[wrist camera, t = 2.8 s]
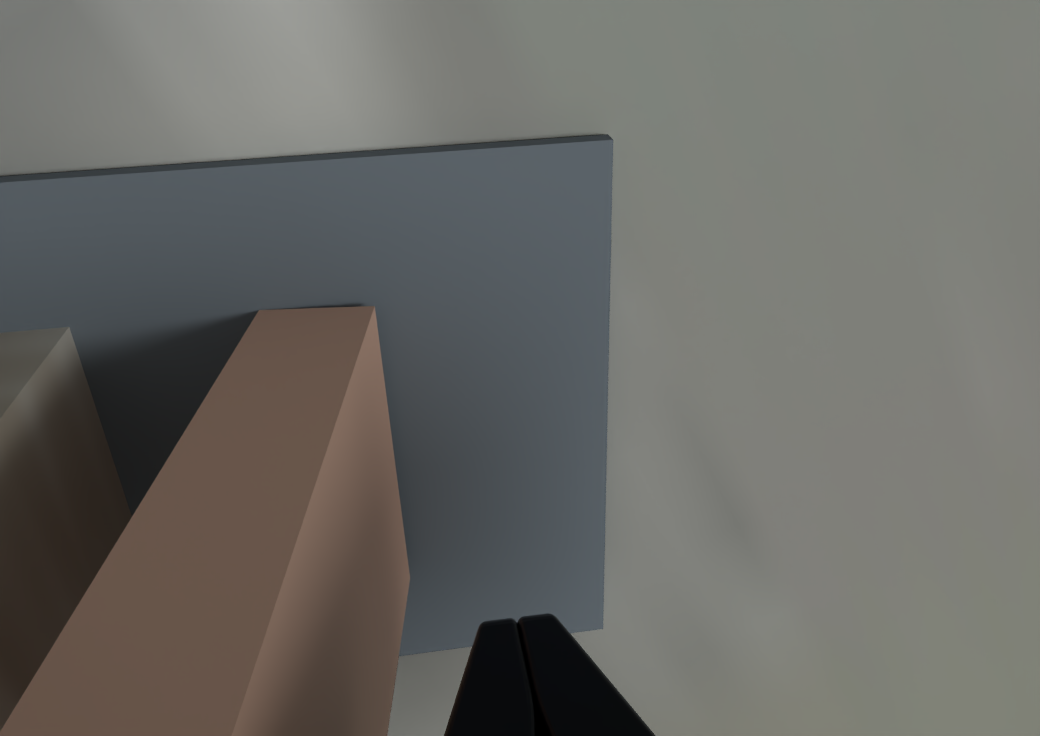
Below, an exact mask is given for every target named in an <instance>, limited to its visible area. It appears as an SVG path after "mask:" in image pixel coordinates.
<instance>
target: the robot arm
mask: <svg viewBox="0 0 1040 736" xmlns="http://www.w3.org/2000/svg"><path fill="white" fill-rule="evenodd" d="M444 736H655V735H654V733H653V732H652V731H651V730H650V729H649V727H648V726H647V725H646V724H645V723H644V721H643V720H642V719H641V718H640V717H639V715H638V714H637V713H636V712H635V711H634V709H633V708H632V707H631V706H630V705H629V703H628V702H627V701H626V700H625V699H624V697H623V696H622V695H621V694H620V693H619V691H618V690H617V689H616V688H615V687H614V685H613V684H612V683H611V682H610V681H609V679H608V678H607V677H606V676H605V675H604V674H603V672H602V671H601V670H600V669H599V668H598V666H597V665H596V664H595V663H594V662H593V660H592V659H591V658H590V657H589V656H588V654H587V653H586V652H585V651H584V650H583V648H582V647H581V646H580V645H579V644H578V642H577V641H576V640H575V639H574V638H573V636H572V635H571V634H570V633H569V632H568V630H567V629H566V628H565V627H564V626H563V624H562V623H561V622H560V621H559V620H558V619H557V618H556V616H554V615H552V614H550V613H546V614H538V615H530V616H523V617H521V618H520V619H519V620H518V622H516V621H515V619H513V618H506V619H498V620H490V621H484V622H482V623H481V624H480V626H479V627H478V630H477V633H476V636H475V640H474V643H473V646H472V649H471V652H470V655H469V658H468V662H467V665H466V668H465V671H464V674H463V677H462V681H461V684H460V687H459V690H458V693H457V696H456V699H455V703H454V706H453V709H452V712H451V715H450V718H449V722H448V725H447V728H446V731H445V734H444Z"/></svg>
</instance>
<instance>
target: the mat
mask: <svg viewBox="0 0 1040 736" xmlns="http://www.w3.org/2000/svg"><path fill="white" fill-rule="evenodd" d="M612 166H613V139H612V138H611V137H610V136H609V135H608V134H607V135H592V136H578V137H563V138H549V139H534V140H520V141H506V142H491V143H477V144H462V145H448V146H433V147H419V148H405V149H390V150H376V151H361V152H347V153H332V154H318V155H303V156H289V157H275V158H260V159H246V160H231V161H217V162H202V163H188V164H173V165H159V166H145V167H130V168H116V169H101V170H87V171H72V172H58V173H43V174H29V175H15V176H0V333H5V332H17V331H28V330H39V329H51V328H62V327H69V328H70V331H71V334H72V337H73V340H74V343H75V346H76V349H77V352H78V355H79V358H80V361H81V364H82V367H83V370H84V373H85V376H86V379H87V382H88V385H89V388H90V391H91V394H92V397H93V401H94V404H95V407H96V410H97V413H98V416H99V419H100V422H101V425H102V428H103V431H104V434H105V437H106V440H107V443H108V446H109V449H110V452H111V455H112V458H113V461H114V464H115V467H116V470H117V473H118V476H119V479H120V482H121V485H122V488H123V491H124V494H125V497H126V500H127V503H128V506H129V509H130V513H131V516H133V514H134V513H135V511H136V510H137V508H138V506H139V505H140V503H141V501H142V500H143V498H144V497H145V495H146V493H147V492H148V490H149V488H150V487H151V485H152V484H153V482H154V480H155V479H156V477H157V475H158V474H159V472H160V471H161V469H162V467H163V466H164V464H165V462H166V461H167V459H168V457H169V456H170V454H171V453H172V451H173V449H174V448H175V446H176V444H177V443H178V441H179V440H180V438H181V436H182V435H183V433H184V431H185V430H186V428H187V427H188V425H189V423H190V422H191V420H192V418H193V417H194V415H195V414H196V412H197V410H198V409H199V407H200V405H201V404H202V402H203V400H204V399H205V397H206V396H207V394H208V392H209V391H210V389H211V387H212V386H213V384H214V383H215V381H216V379H217V378H218V376H219V374H220V373H221V371H222V370H223V368H224V366H225V365H226V363H227V361H228V360H229V358H230V357H231V355H232V353H233V352H234V350H235V348H236V347H237V345H238V343H239V342H240V340H241V339H242V337H243V335H244V334H245V332H246V330H247V329H248V327H249V326H250V324H251V322H252V321H253V319H254V317H255V316H256V314H257V313H258V311H259V310H276V309H304V308H332V307H360V306H375V312H376V319H377V327H378V335H379V342H380V350H381V358H382V366H383V373H384V381H385V389H386V396H387V404H388V412H389V419H390V427H391V435H392V442H393V450H394V458H395V466H396V473H397V481H398V489H399V496H400V504H401V512H402V519H403V527H404V535H405V542H406V550H407V558H408V566H409V573H410V583H409V589H408V596H407V603H406V610H405V617H404V624H403V630H402V637H401V644H400V651H399V656H404V655H411V654H418V653H426V652H433V651H441V650H448V649H456V648H463V647H471V646H473V643H474V640H475V636H476V633H477V630H478V627H479V626H480V624H481V623H482V622H484V621H490V620H498V619H506V618H513V619H515V621H516V622H518V620H519V619H520V618H521V617H523V616H530V615H538V614H546V613H550V614H552V615H554V616H556V618H557V619H558V620H559V621H560V622H561V623H562V624H563V626H564V627H565V628H566V629H567V630H568V632H569V633H575V632H583V631H590V630H597V629H603V604H604V555H605V507H606V458H607V409H608V361H609V312H610V263H611V215H612Z"/></svg>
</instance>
